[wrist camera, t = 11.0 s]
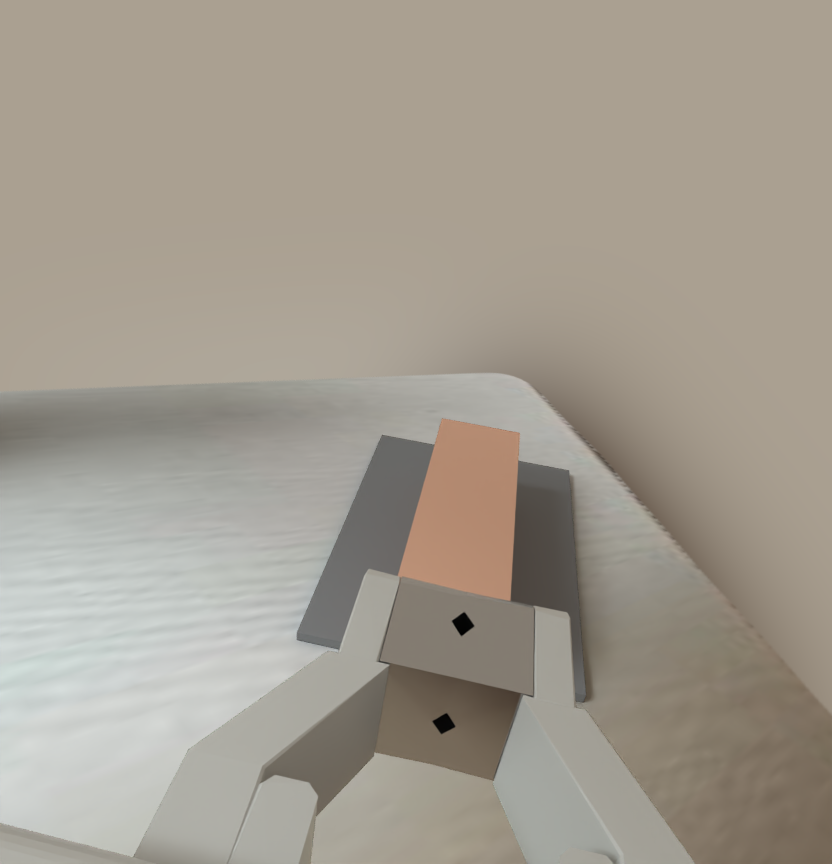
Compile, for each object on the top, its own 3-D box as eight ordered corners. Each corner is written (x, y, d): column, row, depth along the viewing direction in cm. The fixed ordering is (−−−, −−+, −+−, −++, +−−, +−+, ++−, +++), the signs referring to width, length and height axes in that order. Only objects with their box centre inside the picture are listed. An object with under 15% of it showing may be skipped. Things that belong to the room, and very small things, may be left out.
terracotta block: (509, 613, 28) (519, 432, 42) (394, 589, 28) (442, 418, 42) (488, 692, 30) (504, 497, 44) (382, 668, 31) (431, 482, 44)
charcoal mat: (583, 702, 31) (585, 695, 31) (296, 639, 32) (296, 632, 32) (567, 476, 48) (569, 470, 48) (381, 440, 49) (382, 434, 49)
